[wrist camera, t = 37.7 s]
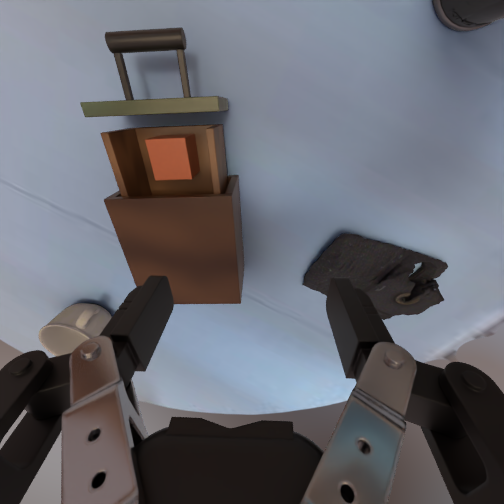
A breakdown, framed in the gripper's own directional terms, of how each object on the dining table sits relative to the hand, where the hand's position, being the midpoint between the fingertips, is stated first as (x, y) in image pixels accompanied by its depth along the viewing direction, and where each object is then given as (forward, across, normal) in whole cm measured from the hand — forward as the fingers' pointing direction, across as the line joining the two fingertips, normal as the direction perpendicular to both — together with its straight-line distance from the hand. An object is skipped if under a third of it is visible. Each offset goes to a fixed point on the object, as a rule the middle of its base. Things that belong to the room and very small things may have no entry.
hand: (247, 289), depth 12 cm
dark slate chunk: (+26, -20, +18) cm, 37 cm away
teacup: (+25, +33, +27) cm, 50 cm away
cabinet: (+25, +10, +8) cm, 28 cm away
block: (+23, +10, -3) cm, 25 cm away
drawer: (+24, +10, -4) cm, 26 cm away
